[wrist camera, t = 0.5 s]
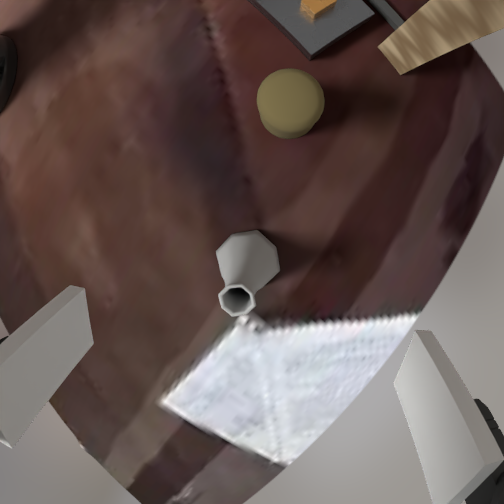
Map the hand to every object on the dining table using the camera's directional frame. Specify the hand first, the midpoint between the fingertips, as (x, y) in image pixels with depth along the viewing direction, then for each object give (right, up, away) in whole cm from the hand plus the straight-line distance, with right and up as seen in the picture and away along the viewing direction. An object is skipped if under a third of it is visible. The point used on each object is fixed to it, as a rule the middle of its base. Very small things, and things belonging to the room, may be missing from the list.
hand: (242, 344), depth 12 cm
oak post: (+17, +25, +16) cm, 34 cm away
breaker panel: (+5, +31, +15) cm, 35 cm away
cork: (+4, +18, +20) cm, 27 cm away
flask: (0, +3, +26) cm, 26 cm away
